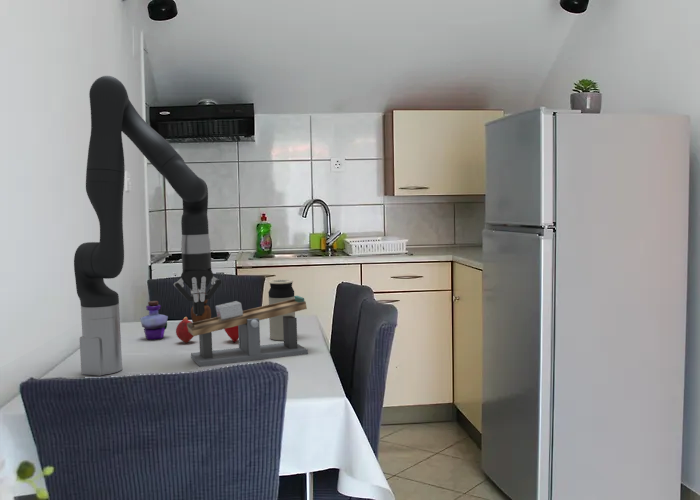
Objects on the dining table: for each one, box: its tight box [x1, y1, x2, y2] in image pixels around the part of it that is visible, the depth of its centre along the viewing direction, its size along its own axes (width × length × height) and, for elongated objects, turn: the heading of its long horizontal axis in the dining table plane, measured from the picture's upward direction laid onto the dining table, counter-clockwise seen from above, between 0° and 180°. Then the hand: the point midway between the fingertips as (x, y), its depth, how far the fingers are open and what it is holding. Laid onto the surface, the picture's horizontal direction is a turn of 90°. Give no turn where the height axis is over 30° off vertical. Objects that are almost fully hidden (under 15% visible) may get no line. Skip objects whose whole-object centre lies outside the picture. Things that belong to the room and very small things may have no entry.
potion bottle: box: [139, 300, 169, 341], centre depth 215 cm, size 9×9×12 cm
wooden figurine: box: [190, 292, 212, 323], centre depth 235 cm, size 7×6×15 cm
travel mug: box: [267, 279, 296, 342], centre depth 210 cm, size 8×8×18 cm
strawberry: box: [223, 326, 239, 343], centre depth 206 cm, size 6×8×10 cm
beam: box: [187, 295, 307, 337], centre depth 187 cm, size 32×8×3 cm, turn 113°
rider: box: [215, 300, 244, 321], centre depth 185 cm, size 6×5×4 cm
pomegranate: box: [175, 316, 195, 344], centre depth 207 cm, size 6×6×8 cm
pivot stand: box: [190, 316, 309, 367], centre depth 187 cm, size 30×14×11 cm, turn 113°
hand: (199, 315), depth 182 cm, fingers closed
